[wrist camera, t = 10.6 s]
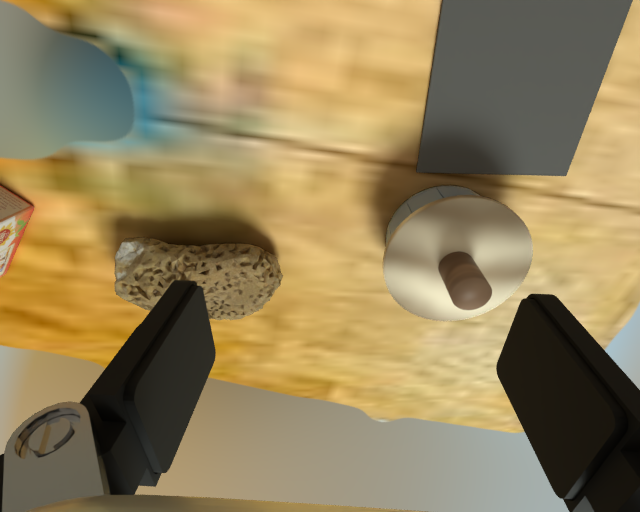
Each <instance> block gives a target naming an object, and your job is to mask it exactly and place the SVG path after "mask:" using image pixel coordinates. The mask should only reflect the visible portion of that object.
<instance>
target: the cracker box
mask: <svg viewBox="0 0 640 512" xmlns="http://www.w3.org/2000/svg"><path fill="white" fill-rule="evenodd" d="M33 210H34V206H32V205H31V204H29V203H28V202H26V201H24V200H23V199H21V198H20V197H18V196H17V195H15V194H14V193H12V192H10V191H9V190H7V189H6V188H4V187H3V186H1V185H0V277H2V276H3V275H5V274H6V273H7V270H8V268H9V266H10V263H11V261H12V259H13V256H14V254H15V252H16V249H17V247H18V245H19V242H20V240H21V238H22V235H23V233H24V231H25V228H26V226H27V224H28V221H29V219H30V217H31V214H32V212H33Z"/></svg>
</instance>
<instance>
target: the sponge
mask: <svg viewBox="0 0 640 512" xmlns="http://www.w3.org/2000/svg"><path fill="white" fill-rule="evenodd" d="M115 277H116V281H115V292H116V295H118V296H120V297H121V298H122V299H124V300H126V301H128V302H131V303H133V304H135V305H137V306H140V307H142V308H144V309H146V310H150V311H151V310H152V309H153V307H154V306H155V305H156V303H157V302H158V301H159V299H160V298H161V297H162V295H163V294H164V293H165V291H166V290H167V289H168V287H169V286H170V285H171V283H172V282H173V281H174V280H190V281H195V282H196V283H197V286H202V288H203V291H204V296H205V301H206V306H207V311H208V316H209V319H216V320H222V319H226V320H228V319H230V320H235V319H242V318H243V317H245V316H249V315H251V314H253V313H254V312H256V311H258V310H259V309H262V308H263V305H264V304H265V303H266V302H267V301H269V300H270V298H271V297H272V295H273V294H274V292H275V290H276V289H277V288H278V287H279V286H280V282H281V279H282V277H283V275H282V273H281V271H280V266H279V263H278V261H277V258H276V257H275V256H274V255H272V254H270V253H269V252H267V251H264V250H263V249H262V248H260V247H257V246H254V245H250V244H227V243H225V244H208V245H202V246H195V245H190V246H185V245H175V244H167V243H165V242H162V241H160V240H157V239H152V238H151V239H147V237H143V238H126V239H125V240H124V241H123V242H122V244H121V246H120V248H119V251H117V253H116V256H115Z"/></svg>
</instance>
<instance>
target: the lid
mask: <svg viewBox="0 0 640 512" xmlns="http://www.w3.org/2000/svg"><path fill="white" fill-rule="evenodd" d="M532 255H533V244H532V239H531V235H530V233H529V230H528V228H527V227H526V225H525V223H524V222H523V221H522V220H521V219H520V217H519V216H518V215H517V214H516V213H515V212H513V211H512V210H511V209H510V208H508V207H507V206H506V205H504V204H502V203H500V202H498V201H496V200H493V199H491V198H487V197H483V196H476V195H457V196H451V197H446V198H442V199H439V200H436V201H433V202H431V203H428V204H426V205H425V206H423V207H421V208H419V209H418V210H416V211H415V212H413V213H412V214H410V215H409V216H408V217H407V218H406V219H405V220H403V221H402V223H401V224H400V225H399V226H398V227H397V228H396V230H395V231H394V233H393V234H392V235H391V237H390V239H389V241H388V243H387V246H386V249H385V252H384V257H383V272H384V278H385V282H386V285H387V288H388V290H389V292H390V294H391V295H392V297H393V298H394V300H395V301H396V302H397V303H398V304H399V305H400V306H402V307H403V308H404V309H405V310H407V311H409V312H410V313H412V314H414V315H417V316H419V317H422V318H425V319H430V320H436V321H457V320H463V319H468V318H472V317H475V316H478V315H481V314H483V313H486V312H488V311H490V310H492V309H494V308H495V307H497V306H498V305H500V304H501V303H503V302H504V301H505V300H507V299H508V298H509V297H510V296H511V295H512V294H513V293H514V292H515V291H516V290H517V289H518V287H519V286H520V285H521V284H522V282H523V280H524V279H525V277H526V275H527V273H528V271H529V268H530V265H531V262H532Z"/></svg>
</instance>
